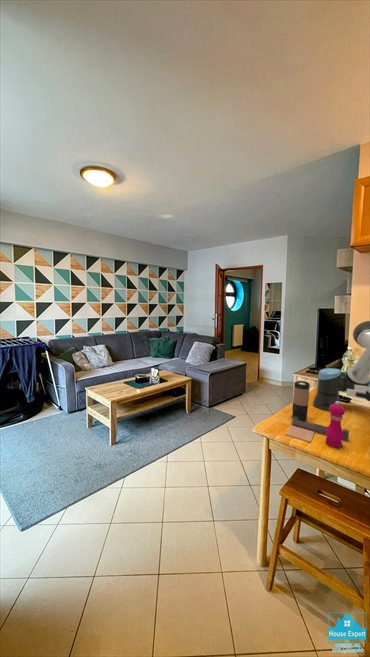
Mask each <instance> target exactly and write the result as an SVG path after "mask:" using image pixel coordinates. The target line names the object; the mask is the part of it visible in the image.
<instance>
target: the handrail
mask: <svg viewBox="0 0 370 657" xmlns="http://www.w3.org/2000/svg"><path fill="white" fill-rule="evenodd" d="M291 419H292V420H291V425H292V426H296V427H299V428H303V429H306V430H310V431H313V432H315V434H320V435H323V436H326V435H325V432H326V429H327V427H328V426H326V425H322V424H317V423H313V422H311V421H307V420H306V421H303V420H300V419H298V417H296V416H293V417H292V418H291ZM342 431H343V434H344V439H343V440H342V442H347V443H348V442H349V436H350V430H349V429H345V428H342Z"/></svg>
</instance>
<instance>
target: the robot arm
mask: <svg viewBox="0 0 370 657" xmlns="http://www.w3.org/2000/svg"><path fill="white" fill-rule="evenodd" d="M352 337H353V340H354V342H355V343H356V344H357V345H358V346H359V347H360V348H363V349H364V351H363V352H362V354H361V355H360V356H359V358H358V360H356V363H354V365H353V366H351V367H348V368H347V370H346V371H341V369H338V368H331V367H330V368H327V367H326V368H323V369H320V370H319V372H318V376H317V389H316V394H315V396H314V399H313V401H312V405H313V406H314V407H315V408H317V409H319V410H322V411H326V412H330V411H329V407H330V406H331V405H332V404H335V402H336V401H339V402H340V404H339V405H341V406H342V404H341V401H340V398H339V396H340V395H339V394H340V392H346V396H347V397H352V398H356V399H363V400H366V401H367V402H370V320H366V321H362V322H360V323H359V324H357V325H356V326H355V327H354V329H353V331H352Z"/></svg>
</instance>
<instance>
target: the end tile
mask: <svg viewBox="0 0 370 657" xmlns="http://www.w3.org/2000/svg"><path fill="white" fill-rule="evenodd" d="M315 434H316V432H313V431H310V430H306V429H303V428H299V427H296V426H292V424H290V426H289V427H288V429H287V431H286V432H285V436H288V437H290V438H294V439H296V440H300V441H304V442H307V443H310V444H311V443H312V441H313V438H314V435H315Z"/></svg>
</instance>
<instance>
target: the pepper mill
mask: <svg viewBox="0 0 370 657" xmlns="http://www.w3.org/2000/svg"><path fill="white" fill-rule="evenodd" d="M339 404H341V401H340V402H339V401H336V402H335V404H332V405H331V406H330V407H329V411H328V412H329V418H330V421H329V424H328V426H326V427H327V429H326V432H325V435H324V436H325V437H326V438H325V443H326V444H327V446H330V447H332V448H338V449H340V448H342V446H343V443H342V442H343V439H344V434H343V428H342V421H343V417H344V415H345V413H346V411H345V408H344V406H342V404H341V405H339Z"/></svg>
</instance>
